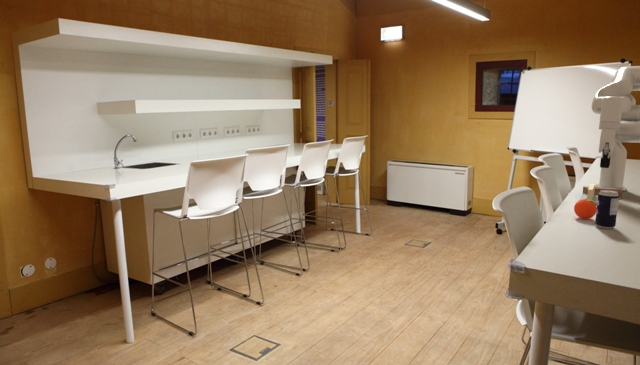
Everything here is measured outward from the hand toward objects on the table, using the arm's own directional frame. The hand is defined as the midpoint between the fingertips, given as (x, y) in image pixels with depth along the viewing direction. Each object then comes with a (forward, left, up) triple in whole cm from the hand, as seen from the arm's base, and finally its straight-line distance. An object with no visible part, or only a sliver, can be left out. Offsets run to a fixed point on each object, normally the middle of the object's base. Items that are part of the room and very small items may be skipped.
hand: (604, 166), depth 196 cm
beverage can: (+56, +4, -13) cm, 58 cm away
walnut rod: (-1, 0, -13) cm, 13 cm away
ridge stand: (+12, -3, -13) cm, 18 cm away
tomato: (+47, -2, -13) cm, 49 cm away
